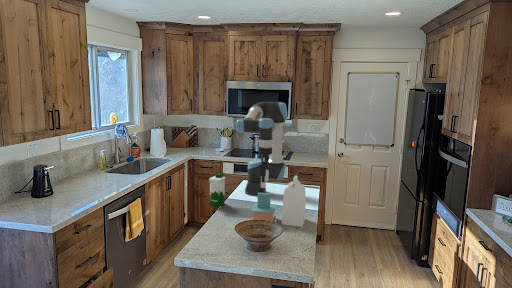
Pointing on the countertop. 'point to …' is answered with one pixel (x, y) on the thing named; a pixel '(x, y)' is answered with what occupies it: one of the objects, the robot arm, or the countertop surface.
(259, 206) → the lid
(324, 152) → the countertop surface
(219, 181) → the milk carton
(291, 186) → the milk
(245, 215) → the mat
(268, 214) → the pot
